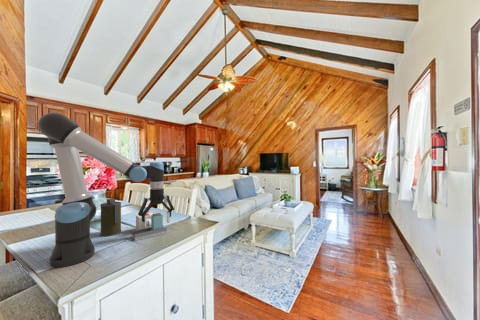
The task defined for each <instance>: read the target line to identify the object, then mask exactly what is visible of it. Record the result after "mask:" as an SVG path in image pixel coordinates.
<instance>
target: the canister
mask: <svg viewBox="0 0 480 320" xmlns="http://www.w3.org/2000/svg"><path fill="white" fill-rule="evenodd" d="M99 205H100V233H99V235H100V236H101V237H111V236H115V235H118V234H120V233H121V232H122V201H121V202H120V201H116V199H115V198H107V199H106V202H103V203H101V204H99Z"/></svg>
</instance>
